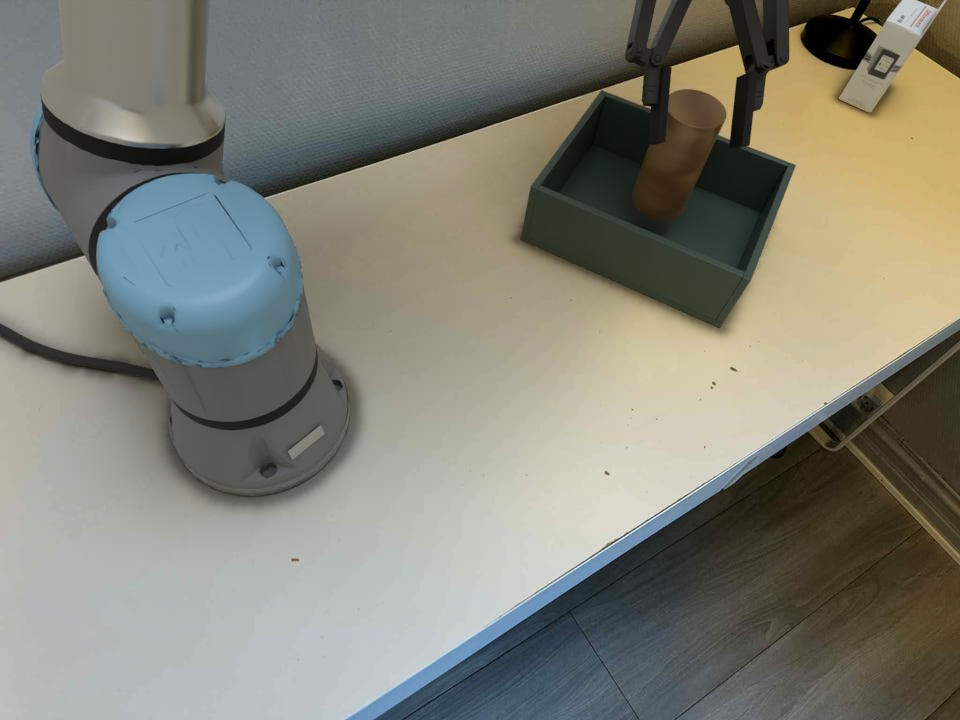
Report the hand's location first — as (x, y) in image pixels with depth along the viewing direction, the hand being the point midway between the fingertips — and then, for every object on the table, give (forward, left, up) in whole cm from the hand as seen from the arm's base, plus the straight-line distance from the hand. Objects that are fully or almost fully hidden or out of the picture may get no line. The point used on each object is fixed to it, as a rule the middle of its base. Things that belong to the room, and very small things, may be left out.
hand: (697, 144), depth 63 cm
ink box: (+16, +46, -15) cm, 51 cm away
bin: (-2, +3, -15) cm, 15 cm away
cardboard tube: (-2, +3, -10) cm, 11 cm away
